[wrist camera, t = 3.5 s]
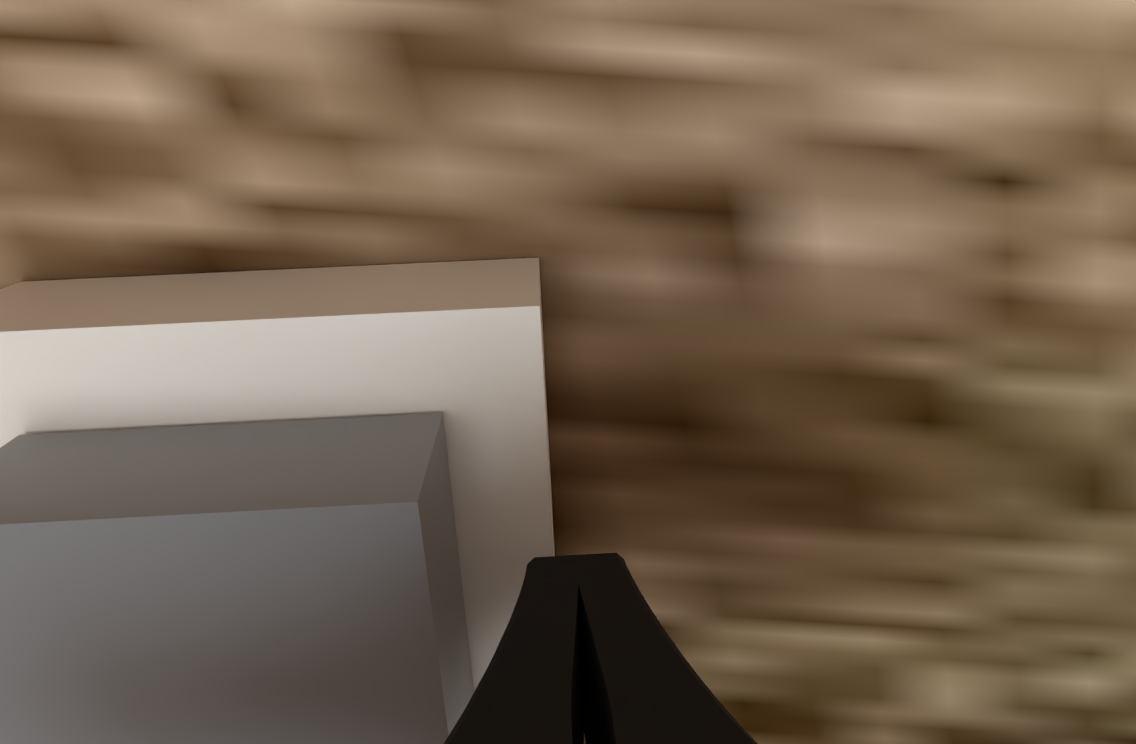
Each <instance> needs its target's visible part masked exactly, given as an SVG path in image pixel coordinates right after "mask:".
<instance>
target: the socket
mask: <svg viewBox="0 0 1136 744" xmlns="http://www.w3.org/2000/svg"><path fill="white" fill-rule="evenodd" d="M431 413H443V420H444V429H445V438H446V447H447V456H448V465H449V474H450V483H451V492H452V501H453V510H454V519H455V528H456V537H457V546H458V554H459V563H460V572H461V581H462V590H463V599H464V608H465V617H466V626H467V635H468V644H469V653H470V662H471V671H472V680H473V689H474V691H475V690H476V688H477V686H478V684H479V682H480V680H481V679H482V677H483V675H484V673H485V671H486V669H487V668H488V666H489V664H490V662H491V660H492V658H493V656H494V653H495V651H496V649H497V647H498V645H499V642H500V640H501V638H502V636H503V634H504V631H505V629H506V627H507V625H508V623H509V620H510V618H511V615H512V613H513V610H514V608H515V605H516V602H517V600H518V597H519V594H520V591H521V588H522V585H523V581H524V577H525V574H526V568H527V564H528V563H529V562H530V561H531V560H532V559H533V558H534V557H550V556H555V549H554V530H553V511H552V492H551V474H550V455H549V436H548V417H547V398H546V380H545V361H544V342H543V323H542V305H541V286H540V267H539V258H517V259H496V260H474V261H453V262H431V263H410V264H388V265H367V266H345V267H324V268H302V269H281V270H259V271H238V272H216V273H195V274H173V275H152V276H130V277H109V278H87V279H66V280H44V281H22V282H18V283H16V284H13V285H10V286H8V287H5V288H3V289H0V448H1V447H2V446H4V445H5V444H7V443H8V442H10V441H11V440H12V439H14V438H15V437H17V436H18V435H23V434H42V433H62V432H81V431H100V430H120V429H139V428H159V427H178V426H198V425H217V424H237V423H256V422H275V421H295V420H314V419H334V418H353V417H373V416H392V415H412V414H431Z"/></svg>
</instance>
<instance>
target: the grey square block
mask: <svg viewBox="0 0 1136 744" xmlns="http://www.w3.org/2000/svg"><path fill="white" fill-rule="evenodd" d="M473 693H474V689H473V680H472V671H471V662H470V653H469V644H468V635H467V626H466V617H465V608H464V599H463V590H462V581H461V572H460V563H459V554H458V546H457V537H456V528H455V519H454V510H453V501H452V492H451V483H450V474H449V465H448V456H447V447H446V438H445V429H444V420H443V413H431V414H412V415H392V416H373V417H353V418H334V419H314V420H295V421H275V422H256V423H237V424H217V425H198V426H178V427H159V428H139V429H120V430H100V431H81V432H62V433H42V434H23V435H18V436H17V437H15V438H14V439H12V440H11V441H10V442H8V443H7V444H5V445H4V446H2V447H1V448H0V744H444V742H445V741H446V739H447V737H448V736H449V734H450V733H451V731H452V730H453V728H454V726H455V725H456V723H457V721H458V720H459V718H460V716H461V715H462V713H463V711H464V710H465V708H466V706H467V704H468V702H469V701H470V699H471V697H472V695H473Z"/></svg>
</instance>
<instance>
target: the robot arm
mask: <svg viewBox="0 0 1136 744" xmlns="http://www.w3.org/2000/svg"><path fill="white" fill-rule="evenodd" d="M584 734H585V740H586V744H757V743H756V742H755V741H754V739H753V738H752V737H751V736H750V735H749V734H748V733H747V732H746V731H745V730H744V729H743V728H742V727H741V726H740V725H739V723H738V722H737V721H736V720H735V719H734V718H733V717H732V716H731V715H730V713H729V712H728V711H727V710H726V709H725V708H724V706H723V705H722V704H721V703H720V702H719V701H718V699H717V698H716V697H715V696H714V695H713V693H712V692H711V691H710V690H709V688H708V687H707V686H706V685H705V684H704V682H703V681H702V680H701V679H700V677H699V676H698V675H697V674H696V672H695V671H694V670H693V668H692V667H691V666H690V664H689V663H688V662H687V661H686V659H685V658H684V657H683V655H682V654H681V652H680V651H679V650H678V648H677V647H676V645H675V644H674V643H673V641H672V640H671V638H670V637H669V635H668V634H667V633H666V631H665V630H664V628H663V627H662V626H661V624H660V623H659V621H658V619H657V618H656V616H655V615H654V613H653V612H652V610H651V609H650V607H649V605H648V604H647V602H646V600H645V599H644V597H643V596H642V594H641V592H640V590H639V589H638V587H637V585H636V583H635V581H634V580H633V578H632V576H631V574H630V572H629V570H628V568H627V566H626V563H625V561H624V559H623V558H622V557H621V556H619V555H618V554H617V553H605V554H587V555H568V556H550V557H534V558H533V559H532V560H531V561H530V562H529V563H528V564H527V568H526V574H525V577H524V581H523V585H522V588H521V591H520V594H519V597H518V600H517V602H516V605H515V608H514V610H513V613H512V615H511V618H510V620H509V623H508V625H507V627H506V629H505V631H504V634H503V636H502V638H501V640H500V642H499V645H498V647H497V649H496V651H495V653H494V656H493V658H492V660H491V662H490V664H489V666H488V668H487V669H486V671H485V673H484V675H483V677H482V679H481V680H480V682H479V684H478V686H477V688H476V690H475V691H474V693H473V695H472V697H471V699H470V701H469V702H468V704H467V706H466V708H465V710H464V711H463V713H462V715H461V716H460V718H459V720H458V721H457V723H456V725H455V726H454V728H453V730H452V731H451V733H450V734H449V736H448V737H447V739H446V741H445V742H444V744H584Z"/></svg>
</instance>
